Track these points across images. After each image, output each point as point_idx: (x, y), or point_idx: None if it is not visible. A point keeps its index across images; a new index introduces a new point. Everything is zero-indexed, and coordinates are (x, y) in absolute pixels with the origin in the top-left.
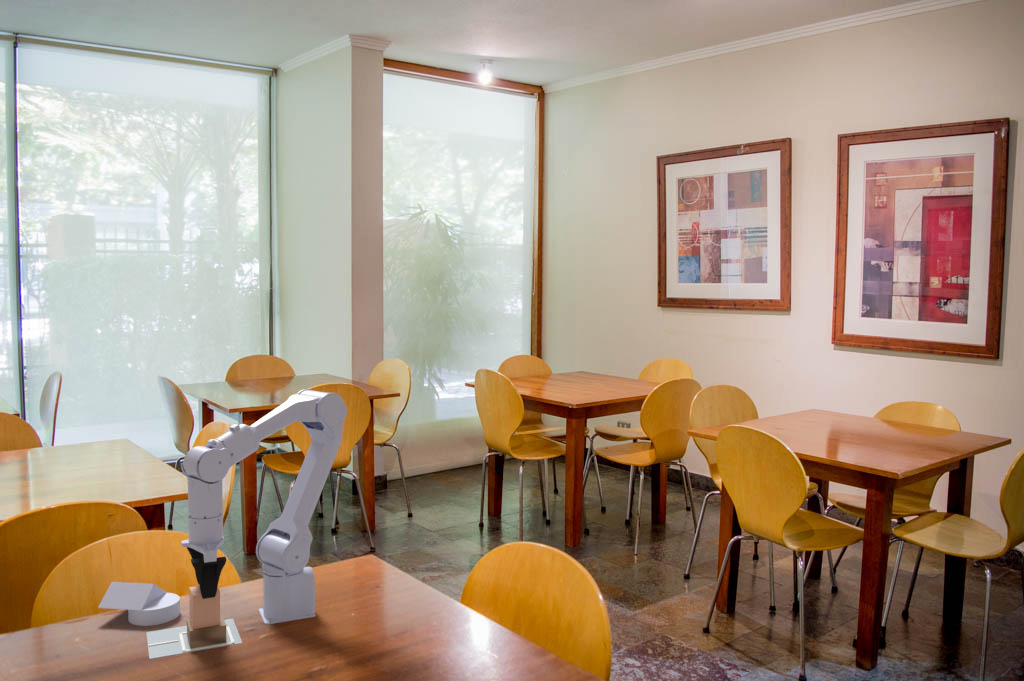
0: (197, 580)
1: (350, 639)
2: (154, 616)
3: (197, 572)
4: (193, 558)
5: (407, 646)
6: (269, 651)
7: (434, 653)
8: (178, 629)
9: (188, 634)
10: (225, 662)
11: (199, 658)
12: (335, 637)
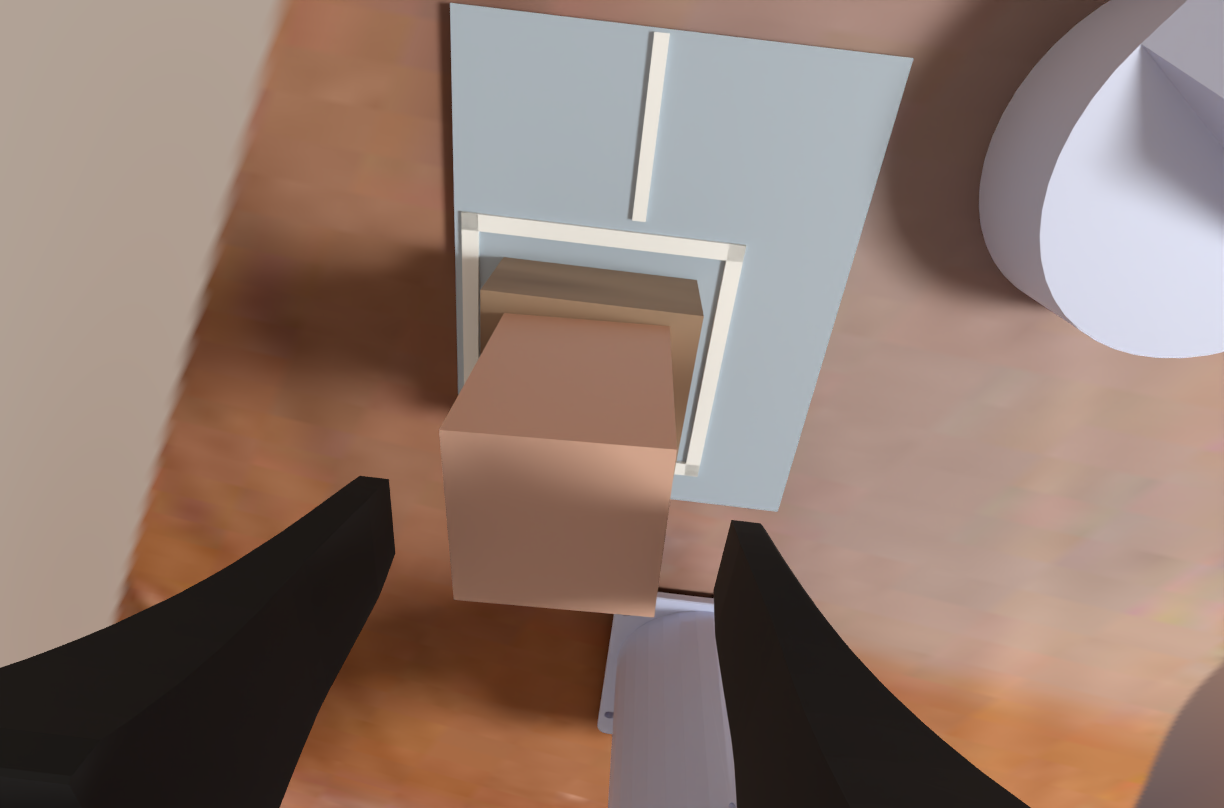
0: (737, 539)
1: (362, 733)
2: (1031, 142)
3: (73, 648)
4: (799, 717)
5: None
6: None
7: None
8: (812, 255)
9: (587, 282)
10: (299, 366)
11: (387, 274)
12: (397, 711)
